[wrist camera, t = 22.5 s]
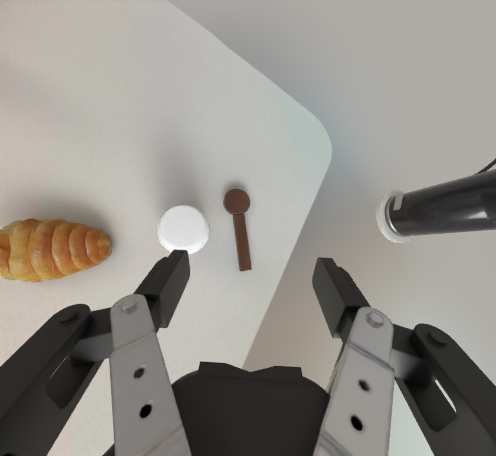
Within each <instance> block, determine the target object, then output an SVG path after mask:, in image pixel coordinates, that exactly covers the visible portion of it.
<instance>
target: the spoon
mask: <svg viewBox="0 0 496 456" xmlns="http://www.w3.org/2000/svg"><path fill="white" fill-rule="evenodd" d="M249 206H250V199H249V196H248V195H247V194H246V192H244V191H243V190H240V189H232V190H230V191H229V192H228V193H227V194H226V196H225V197H224V207H225V209H226V210H227V212H229V213H230V214H232V215H234V216H233V220H234V228H235V236H236V243H237V251H238V259H239V266H240V271H245V270H251V262H250V255H249V247H248V240H247V233H246V225H245V218H244V214H243V213H245V212H246V211H247V210H248V209H249Z"/></svg>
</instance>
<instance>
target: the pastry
mask: <svg viewBox="0 0 496 456" xmlns="http://www.w3.org/2000/svg"><path fill="white" fill-rule="evenodd" d="M111 252H112V244H111V242H110V240H109V237H108V236H107V235H106V234H105V233H104V232H103V231H102V230H100V229H96V228H91V227H88V226H86V225H84V224H79V223H70V222H67V221H65V220H62V219H57V220H43V221H39V220H36V219H27V220H25V221H21V220H19V221H15V222H13V223H11V224H10V225H8V226H5V227H4V228H3V229H2V230H0V275H1V276H2V277H4V278H5V279H9V280H23V281H27V282H39V281H43V280H50V279H58V278H62V277H65V276H68V275H71V274H73V273H76V272H79V271H82V270H85V269H88V268H91V267H93V266H96V265H98V264H99V263H101V262H102V261H104V260H105V259H107V258H108V257H109V256H110V254H111Z"/></svg>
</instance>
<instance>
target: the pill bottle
mask: <svg viewBox="0 0 496 456" xmlns="http://www.w3.org/2000/svg"><path fill="white" fill-rule="evenodd" d="M209 233H210V227H209V223H208V220H207V218H206V216H205V215H204V214H203V213H202V212H201V211H200V210H198V209H197V208H195V207H192V206H188V205H178V206H174V207H172V208H170V209H168V210H167V211H166V212H164V213H163V215H162V216H161V217H160V219H159V221H158V225H157V235H158V239H159V241H160V243H161V244H162V245H163V247H164V248H165V249H167V250H168V251H170V252H172V251H173V250H174V249H177V250H187V251H188V254H191V253H194V252H196V251H198V250H199V249H201V248H202V247H203V246H204V245H205V243H206V242H207V240H208V237H209Z"/></svg>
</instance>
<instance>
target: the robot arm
mask: <svg viewBox="0 0 496 456" xmlns="http://www.w3.org/2000/svg"><path fill="white" fill-rule="evenodd" d="M495 164H496V159H495V160H494V161H493V162H491V163H490V164H489V165H488V166H486V167H485V168H484V169H482V170H481V171H480V172H478V173H476V174H474V175H472V176H468V177H464V178H461V179H457V180H453V181H450V182H446V183H442V184H439V185H435V186H431V187H428V188H424V189H420V190H416V191H413V192H409V193H405V194H401V195H396V196H393V197H391V198H390V199H389V200H388V201H387V203H386V206H385V219H386V222H387V225H388V227H389V228H390V230H391V231H392V232H393V233H394V234H396V235H397V236H400V237H407V236H414V235H428V234H442V233H454V232H469V231H482V230H495V229H496V169H494V170H490V171H487V170H488V169H490V168H491V167H492V166H493V165H495ZM189 276H190V266H189V258H188V251H187V250H177V249H174V250H173V251H172V252H171V254H170V255H169V257H164V258H162V259H161V260H159V261H158V262H157V263H156V264H155V265H154V267H153V268H152V270H151V271H150V272H149V273H148V275H147V276H146V277H145V279H144V280H143V281H142V283H141V284H140V285H139V287H138V288H137V290H136V291H135V292H134V294H132V295H128V296H126V297H123V298H122V299H120V300H118V301H117V302H116V303H115V304H114V305H113V306H112V307H111V308H106V309H101V310H96V311H91V310H90V308H89V306H87V305H85V304H76V305H72V306H69V307H66V308H64V309H62V310H60V311H59V312H57V313H56V314H54V315H53V316H52V317H51V318H50V319H49V320H48V321H47V322H46V323H45V324H44V325H43V326H42V327H41V328H40V329H39V330H38V331H37V332H36V333H35V334H34V335H33V336H31V337H30V338H29V339H28V340H27V341H26V342H25V343H24V344H23V345H22V346H21V347H20V348H19V349H18V350H17V351H16V352H15V353H14V354H13V355H12V356H11V357H10V358H9V359H8V360H7V361H6V362H5V363H4V364H3V365H2V366H1V367H0V456H47V454H48V452H49V451H50V449H51V447H52V446H53V444H54V442H55V441H56V439H57V437H58V436H59V434H60V432H61V431H62V429H63V427H64V426H65V424H66V422H67V421H68V419H69V417H70V416H71V414H72V412H73V411H74V409H75V407H76V406H77V404H78V402H79V401H80V399H81V397H82V396H83V394H84V392H85V391H86V389H87V387H88V386H89V384H90V382H91V381H92V379H93V377H94V376H95V374H96V372H97V371H98V369H99V367H100V366H101V364H102V362H103V361H104V359H107V358H109V362H110V379H111V395H112V411H113V428H114V444H113V445H112V446H111V447H110V448H109V449H108V450H107V451H106V452H105V453H104V455H103V456H388V450H389V438H390V426H391V415H392V402H393V391H394V379H395V380H396V382H397V384H398V386H399V388H400V390H401V392H402V394H403V396H404V398H405V400H406V401H407V403H408V406H409V407H410V409H411V411H412V413H413V415H414V417H415V419H416V421H417V423H418V425H419V427H420V428H421V431H422V432H423V434H424V436H425V438H426V440H427V442H428V444H429V446H430V448H431V450H432V452H433V453H434V456H496V386H495V385H494V384H493V383H492V382H491V381H490V380H489V378H488V377H486V375H485V374H484V373H483V372H482V371H481V370H480V369H479V367H478V366H477V365H476V364H475V363H474V362H473V361H472V360H471V359H470V358H469V356H468V355H467V354H466V353H465V352H464V351H463V350H462V349H461V347H460V346H459V345H458V344H457V343H456V342H455V341H454V340H453V339H452V338H451V337H450V336H449V335H448V334H446V333H444V332H443V331H442V330H440V329H438V328H436V327H434V326H431V325H428V324H418V325H416V326H415V328H414V329H413V330H411V329H408V328H404V327H401V326H398V325H395V324H393V323H392V322H391V321H390V319H389V318H388V317H387V316H386V315H384V314H383V313H382V312H380V311H379V310H377V309H374V308H371V306H370V305H369V303H368V302H367V300H366V299H365V297H364V296H363V294H362V293H361V291H360V290H359V288H358V287H357V286H356V284H355V283H354V281H353V279H352V278H351V277H350V275H349V274H348V272H346V271H345V270H344V269H343V268H341V267H337V265H336V263H335V262H334V260H333V259H332V258H318V259H317V262H316V266H315V270H314V274H313V278H312V283H313V288H314V290H315V293H316V296H317V298H318V301H319V304H320V306H321V309H322V312H323V314H324V317H325V319H326V322H327V325H328V327H329V330H330V333H331V335H332V338H341V339H342V342H343V344H342V347H341V349H340V352H339V355H338V358H337V361H336V363H335V367H334V369H333V372H332V375H331V378H330V380H329V383H328V385H327V388H326V390H324V389H323V388H322V387H320V386H319V385H318V384H316V383H315V382H313V381H311V380H310V379H307V378H305V377H303V376H302V371H301V367H286V366H274V367H270V368H266V369H262V370H258V371H254V372H248V371H245V370H243V369H240V368H237V367H234V366H232V365H229V364H226V363H216V362H200V365H199V369H198V370H197V371H194V372H191V373H189V374H186V375H185V376H183V377H181V378H180V379H178V380H177V381H175V382H174V383H173V384H172V385H171V383H170V380H169V376H168V373H167V369H166V366H165V362H164V359H163V356H162V352H161V349H160V345H159V342H158V338H157V335H156V334H157V332H158V330H159V328H167V327H168V325H169V323H170V321H171V318H172V316H173V314H174V312H175V309H176V307H177V305H178V303H179V300H180V298H181V296H182V294H183V291H184V289H185V287H186V285H187V282H188V280H189ZM64 359H65V360H64ZM63 360H64V361H63ZM61 363H62V364H61ZM60 364H61V365H60ZM57 368H58V369H57ZM56 369H57V370H56ZM54 372H55V373H54ZM53 373H54V374H53ZM51 376H52V377H51ZM50 377H51V378H50ZM436 379H437V380H438V382H439V383H440V385H441V386H442V388H443V389H444V390H445V392H446V393H447V395H448V396H449V398H450V399H451V401H452V402H453V404H454V406H455V409H456V412H455V411H454V409H453V408H452V406H451V405H450V403H449V402H448V401H447V399H446V397H445V396H444V394H443V393H442V392H441V390H440V389H439V387H438V386H437V384H436V383H435V380H436Z"/></svg>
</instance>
